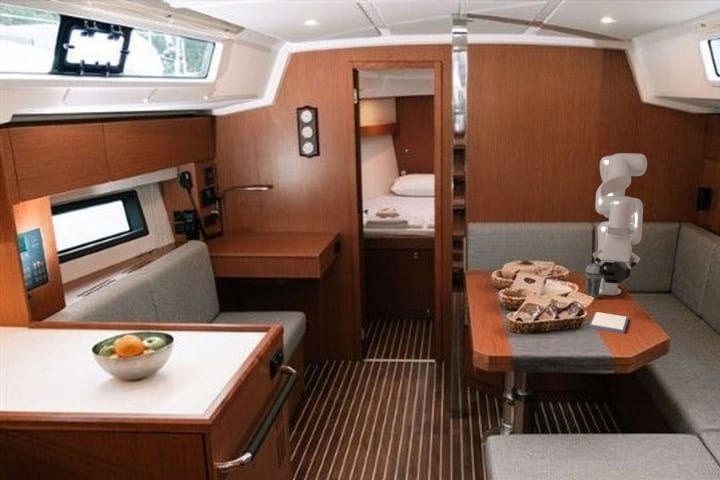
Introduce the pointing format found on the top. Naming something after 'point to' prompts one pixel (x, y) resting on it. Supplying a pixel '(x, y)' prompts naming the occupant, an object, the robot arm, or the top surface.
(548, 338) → the top surface
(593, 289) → the beverage cup
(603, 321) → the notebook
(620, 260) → the robot arm
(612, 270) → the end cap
